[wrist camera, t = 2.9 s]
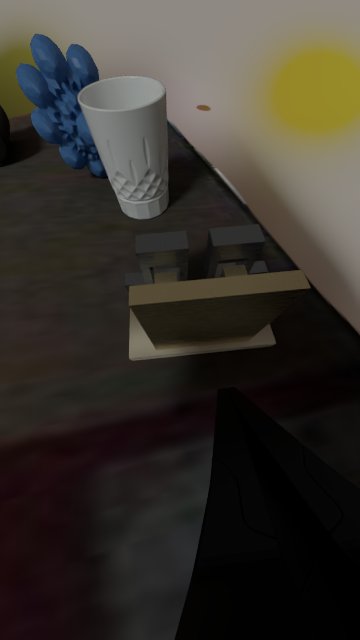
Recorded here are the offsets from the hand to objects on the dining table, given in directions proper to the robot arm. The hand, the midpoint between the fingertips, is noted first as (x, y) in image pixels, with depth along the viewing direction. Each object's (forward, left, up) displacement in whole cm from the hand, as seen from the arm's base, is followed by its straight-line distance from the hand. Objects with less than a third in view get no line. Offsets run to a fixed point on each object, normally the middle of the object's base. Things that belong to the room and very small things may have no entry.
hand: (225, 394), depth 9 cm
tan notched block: (+5, -4, -5) cm, 8 cm away
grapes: (+33, -10, -7) cm, 35 cm away
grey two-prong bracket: (+8, -5, -7) cm, 12 cm away
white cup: (+24, -11, -7) cm, 27 cm away
